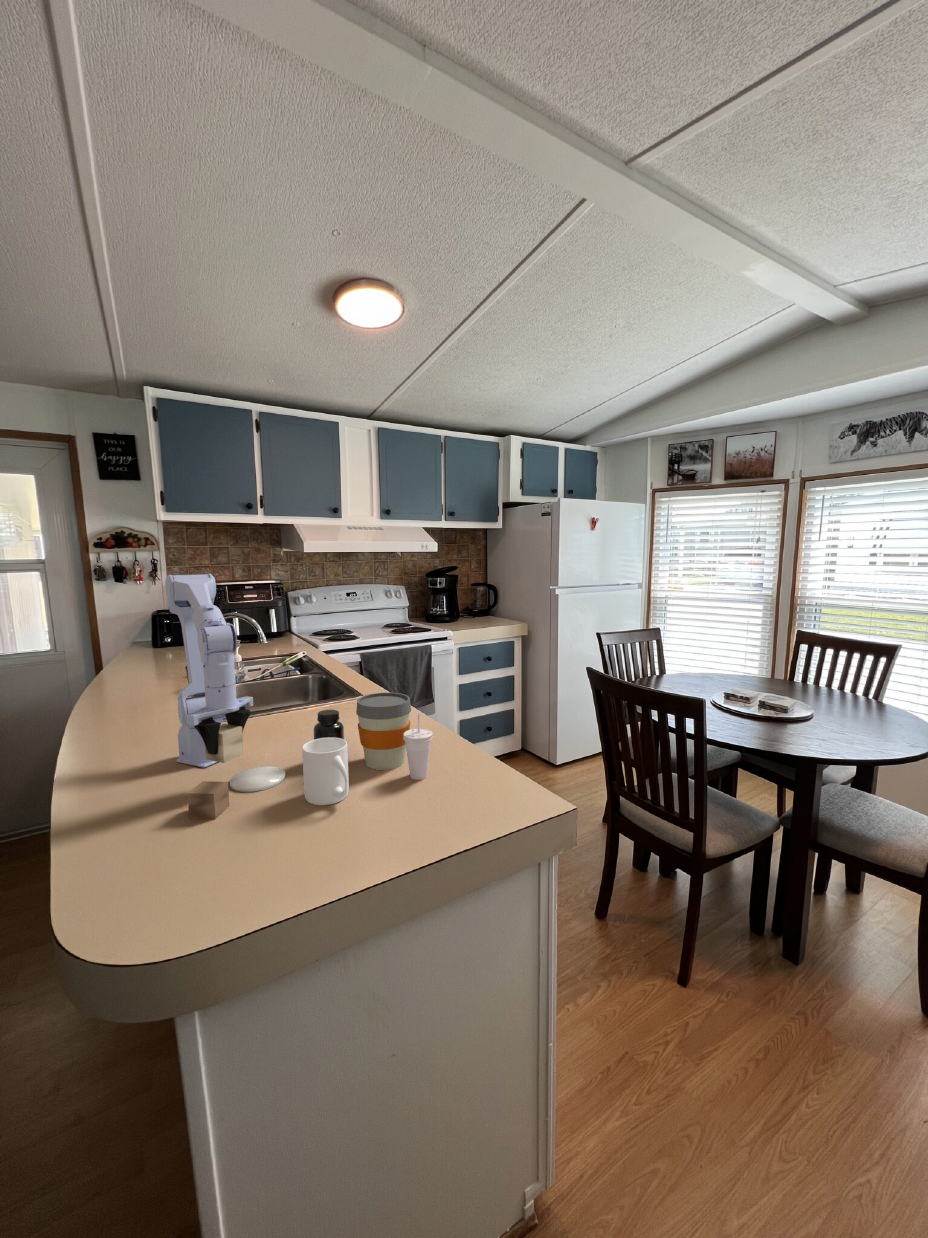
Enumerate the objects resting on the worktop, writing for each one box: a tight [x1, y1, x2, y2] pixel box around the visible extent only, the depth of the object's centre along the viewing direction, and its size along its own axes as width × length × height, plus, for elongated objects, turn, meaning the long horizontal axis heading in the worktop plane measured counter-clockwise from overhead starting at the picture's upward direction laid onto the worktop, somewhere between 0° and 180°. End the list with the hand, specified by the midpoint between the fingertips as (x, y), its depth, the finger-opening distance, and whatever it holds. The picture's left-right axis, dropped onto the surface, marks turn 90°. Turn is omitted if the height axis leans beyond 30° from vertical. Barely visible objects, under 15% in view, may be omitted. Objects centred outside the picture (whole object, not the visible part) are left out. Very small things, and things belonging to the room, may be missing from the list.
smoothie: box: [403, 712, 434, 781], centre depth 111 cm, size 6×6×14 cm
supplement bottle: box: [313, 709, 345, 740], centre depth 119 cm, size 7×7×12 cm
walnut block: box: [186, 780, 230, 820], centre depth 96 cm, size 5×5×5 cm
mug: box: [301, 738, 350, 806], centre depth 100 cm, size 9×12×11 cm
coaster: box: [229, 765, 286, 793], centre depth 110 cm, size 11×11×1 cm
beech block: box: [205, 723, 244, 764], centre depth 105 cm, size 5×5×6 cm
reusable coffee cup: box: [356, 692, 412, 771], centre depth 118 cm, size 13×13×15 cm
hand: (224, 748), depth 105 cm, fingers closed on beech block, 5 cm apart
